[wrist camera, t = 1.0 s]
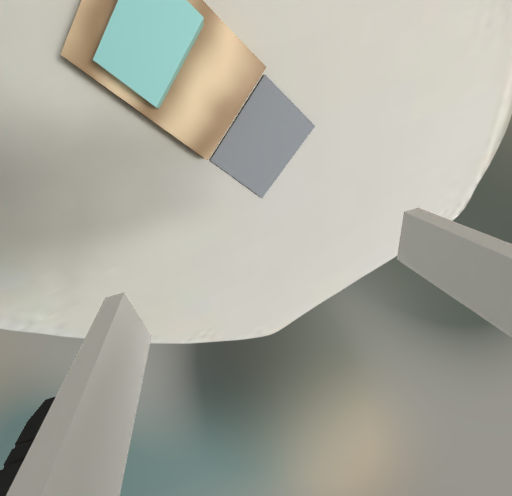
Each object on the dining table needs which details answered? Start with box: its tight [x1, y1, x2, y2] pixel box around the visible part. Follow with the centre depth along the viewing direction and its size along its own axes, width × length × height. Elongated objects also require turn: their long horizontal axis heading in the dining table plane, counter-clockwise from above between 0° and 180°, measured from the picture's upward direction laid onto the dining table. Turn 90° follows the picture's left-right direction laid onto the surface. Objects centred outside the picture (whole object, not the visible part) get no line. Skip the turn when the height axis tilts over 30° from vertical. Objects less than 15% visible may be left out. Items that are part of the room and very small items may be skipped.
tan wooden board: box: [60, 0, 266, 160], centre depth 25 cm, size 16×12×2 cm
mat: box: [210, 75, 315, 198], centre depth 31 cm, size 9×12×1 cm
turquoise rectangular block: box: [93, 0, 204, 108], centre depth 22 cm, size 6×9×2 cm, turn 143°
